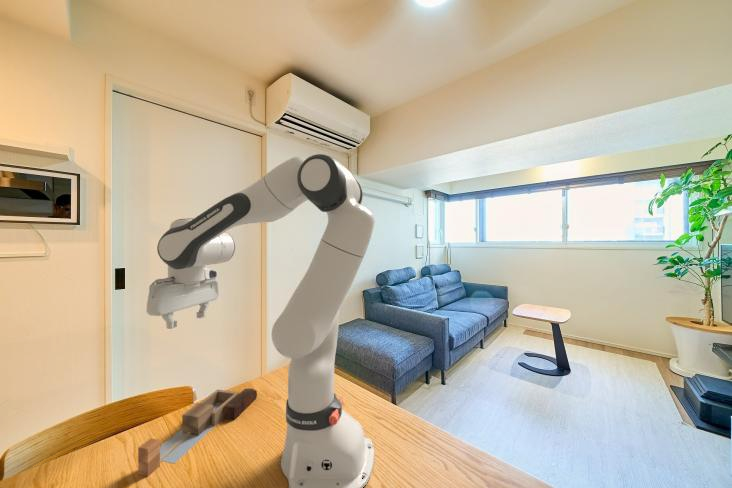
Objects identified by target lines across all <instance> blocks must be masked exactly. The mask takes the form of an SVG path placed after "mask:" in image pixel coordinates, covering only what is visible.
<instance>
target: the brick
mask: <svg viewBox="0 0 732 488" xmlns="http://www.w3.org/2000/svg"><path fill="white" fill-rule="evenodd" d="M257 393H258V391H257V390H256V389H254V388H252V387H251V388H244V389H243V390H242V391H241V392H239V394H238V395H237V396H236V397H235V398H233V399H232V400H231V401H230V402H228V403H227V404H226V405H225V406H224V409H223V419H222V420H228V421H234V420H236V419H237V418H239V417H240V416H241V414H243V413H244V411H246V409H247V408H249V406H251V404H252V403H253V402H255V401H256V400H257V397H258V394H257Z"/></svg>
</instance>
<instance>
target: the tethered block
mask: <svg viewBox="0 0 732 488" xmlns="http://www.w3.org/2000/svg"><path fill="white" fill-rule="evenodd" d="M212 412H213V405H209V404H203V403H200V402H198V403H196V404H194V405H193V406H192V407H191V408H189V409H188V410H186V412H184V413H182V415H181V416H182V417H181V419H182V420H181V421H182V428H181V429H182V433H184V434H186V435H185V436H184V437H182V438H181V439H180V440H179V441H178V442H176V443H175V444H174V445H173V446H172V447H171V448H169V449H168V450H167V451H166V452H165V453H163V454H162V455H161V456H160V446H161V440H160V439H156V438H152V437H151V438H148V439H147V440H146V441H145V442H143V443H142V444H140V446H138V447H137V449H138V453H137V454H138V456H137V457H138V458H137V459H138V461H137V463H138V465H137V466H138V475H141V476H145V477H149V476H150V475H151V474H152V473H154V472H155V471H156V470H157V469H158V468H159V467H160V466H161V462H163V461H162V460H163V459H164V458H165V457H166V456H168V455H169V454H170V453H171V452H172V451H173V450H174V449H176V448H177V447H178V446H179V445H180V444H181V443H182V442H184V441H185V440H186V439H187V438H188V437H189V436H191V435H196V436H199V435H200V434H201V433H202V432H203V431H204V430H205V429H207V428H208V427H209V426H210V425H211V424H212Z"/></svg>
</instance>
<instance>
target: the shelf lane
mask: <svg viewBox="0 0 732 488" xmlns="http://www.w3.org/2000/svg"><path fill="white" fill-rule="evenodd" d="M239 393H240V392H239V391H234V390H226V389H219V388H218V389H216V390H215V391H213V392H212V393H211V394H210V395H208V396H207V397H205V398H204V399H203V400H201V401H200V402H199V403H203V404H209V405H213V412H212V424H211V425H210V426H209V427H208V428H207V429H205V430H204V431H203V432H202V433H201V434H200V435H199V436H196V435H191V436H189V437H188V438H187V439H186V440H185V441H184V442H182V443H181V444H180V445H179V446H178V447H177V448H176V449H174V450H173V451H172V452H171V453H170V454H169V455H168V456H166V457H165V458H164V459H163V460H162V461H161V462H164V463H165V462H166V463H170V464H176V463H177V462H178V461H179V460H180V459H181V458H182V457H184V455H185V454H186V453H188V452H189V451H190V450H191V449H192V448H193V447H194V446H196V444H198V443H199V441H201V439H203V438H204V436H206V435H207V434H208V433H209V432H210V431H211V430H212V429H213V428H215V426H217V425H218V424H219V423H220V422H221V421H222V420H224V419H223V409H224V406H225V405H226V404H227V403H228V402H230V401H231V400H232V399H233V398H235V397H236V396H237V395H238V394H239ZM185 435H186V434H184V433H182V428H181V429H180V430H178V432H176V433H175V434H174V435H173V436H171V437H170V438H169V439H167V440H166V441H165V442H164V443H163V444H162V445H160V456H161V455H162V454H163V453H165V452H166V451H167V450H168V449H169V448H171V447H172V446H173V445H174V444H175V443H176V442H178V441H179V440H180V439H181V438H182V437H184V436H185Z"/></svg>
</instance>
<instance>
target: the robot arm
mask: <svg viewBox="0 0 732 488" xmlns="http://www.w3.org/2000/svg"><path fill="white" fill-rule="evenodd" d="M307 201H309V202H310V203H312V204H313V205H314V207H316V208H317V209H318V210H319V211H321V212H323V213H326V214H327V215H326V216H327V225H326V227H325V230H324V232H323V234H322V236H321V239H320V241H319V243H318V246H317V248H316V250H315V253H314V255H313V258H312V260H311V262H310V264H309V266H308V268H307V271H306V272H305V274H304V275H303V276H302V277H303V278H302V279H301V280H300V282H299V284H298V285H297V287H296V288H295V290H294V292H293V293H292V295H291V297H290V299H289V300H288V302H287V304H286V306H285V307H284V309H283V310H282V312H281V313H280V315H279V316H278V318H277V319H276V321H275V322H274V323H273V325H272V328H271V341H272V344H273V346H274V348H275V349H276V351H277V352H278V353H279V354H280V355H282V356H283V357H285V358H287V359H291V360H290V363H289V366H288V370H287V399H286V403H285V404H286V405H285V407H286V408H285V421H286V435H285V442H284V446H283V451H282V454H281V458H280V468H281V471H282V473H283V474H284V476H285V477H286V480H287V481H288V488H363V487H364V486H365V485H366V486H367V484H368V483H369V481H370V479H371V476H372V473H373V469H374V462H375V447H374V444H373V442H372V440H371V438H370V437H367V436H365V431H364V429H363V427H362V425H361V423H360V422H359V421H358V420H356V419H355V418H353V417H352V416H351V415H350V414H348V412H346V411H345V410H344V409H343V407H342V405H343V403H344V396H343V395H342V396H340V397H341V398H340V399H338V397H337V395H336V393H335V362H336V354H337V353H336V352H337V347H338V337H339V325H340V316H341V306H342V304H343V302H344V300H345V298H346V296H347V294H348V292H349V290H350V289H351V287H352V284H353V282H354V280H355V278H356V275H357V273H358V271H359V268H360V266H361V264H362V262H363V261H364V257H365V255H366V254H367V253H366V252H367V251H368V247H369V245H370V241H371V239H372V234H373V231H374V226H375V217H374V214H373V213H372V212H371V210H370V209H368V208H367V207H366V206H364V205H363V204H362V202H363V189H362V186H361V184H360V182H359V181H358V180H357V179H356V178H355V177H354V176H353V174H352V172H351V171H350V170H349V169H348V168H346V166H344V165H343V164H341V162H340V161H339V160H338V159H336V158H334V157H332V156H329V155H326V154H324V153H323V154H320V153H319V154H318V153H317V154H313V155H311V156H308V157H307V158H304V157H302V156H293V157H291V158H289V159H286V160H285V161H284V162H282V163H280V164H278V165H276V166H275V167H273V168H272V169H271V170H269V172H267V173H266V174H264V175H263V176H262V177H261V178H260V179H258V180H257V181H256V182H254V183H252V184H250V186H248V187H246V188H243V189H242V190H241V191H238V192H236V193H233V194H231V195H229V196H227V197H225V198H224V199H222V200H220V201H219V202H217V203H215V204H213V205H212V206H211V207H209V208H208V209H206V210H204V211H203V212H202V213H200V214H198V215H197V216H196V217H194V218H192V217H190V218H179V219H176V220H174V221H172V222H171V223H170V226H169V229H168V230H166V232H164V233H163V235H162V236H161V237H160V238H159V240H158V243H157V248H156V250H157V254H158V256H159V258H160V259H161V261H162V262H163V263H164V264H166V265H167V277H165V278H164V277H163V278H157V279H155V280H154V281H153V282H152V283H150V284H149V287H148V289H149V292H148V296H147V301H146V313H147V314H148V315H150V316H151V317H152V316H155V317H160V316H161V317H162V319H163V321H165V322H166V323H165V324H166V329H169V330H171V329H174V328H177V326H178V320H174V318H173V316H174V312H177V311H182V310H185V309H189V308H191V307H195V306H200V307H199V309H198V311H197V312H196V318H197V319H202V318H205V317H206V311H207V310H208V307H209V302H212V301H216V300H217V299H218V298H219V297H220V284H219V283H220V282H219V279H218V278H219V277H220V276H219V275H220V274H219V273H220V272H219V271H218V270H217V269H216V270H215V269H211V268H208V267H206V266H210V265H219V264H223V263H226V262H228V261H230V260H231V259H232V258H233V256H234V254H235V249H236V244H235V241H234V239H233V236H232V235H230V233H228V232H227V231H228V230H230V229H233V228H236V227H238V226H242V225H243V226H244V225H249V224H258V223H259V224H260V223H272V222H275V221H278V220H280V219H282V218H285V217H286V216H288V215H289V214H290V213H292V212H293V211H294V210H295V209H297V208H298V207H299V206H301V205H302V204H303V203H305V202H307ZM371 472H372V473H371ZM370 475H371V476H370ZM362 478H363V479H362ZM369 478H370V479H369ZM368 480H369V481H368ZM367 482H368V483H367ZM366 486H365V487H366ZM365 487H364V488H365Z"/></svg>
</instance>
